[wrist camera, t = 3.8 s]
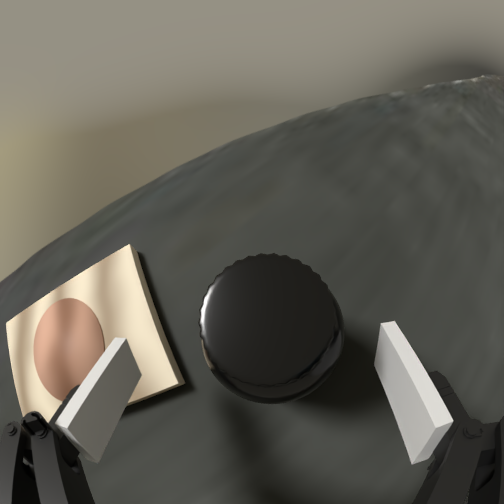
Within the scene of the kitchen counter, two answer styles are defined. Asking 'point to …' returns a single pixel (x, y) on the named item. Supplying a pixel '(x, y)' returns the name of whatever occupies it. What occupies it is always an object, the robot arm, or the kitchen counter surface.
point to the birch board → (89, 335)
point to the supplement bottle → (270, 329)
